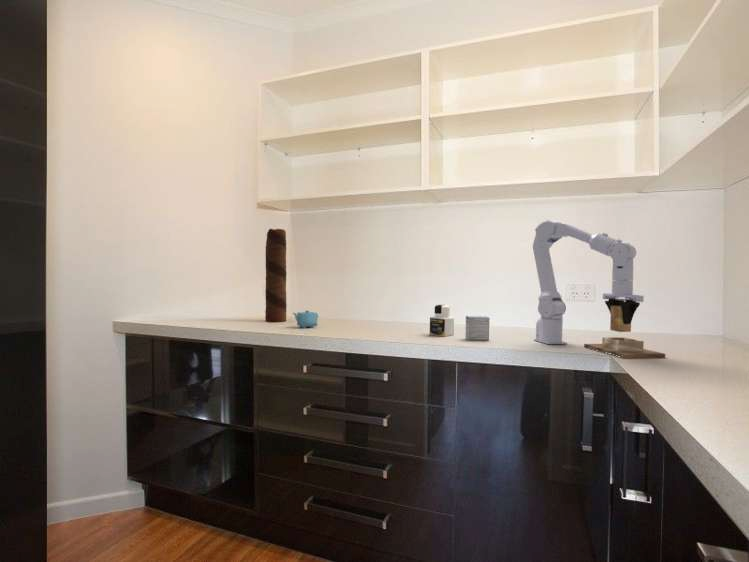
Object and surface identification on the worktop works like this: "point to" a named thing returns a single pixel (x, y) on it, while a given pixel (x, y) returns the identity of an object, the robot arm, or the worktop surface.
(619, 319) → the oak peg
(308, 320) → the teapot
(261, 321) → the worktop surface
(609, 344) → the walnut board
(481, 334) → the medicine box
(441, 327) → the medicine bottle
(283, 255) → the wafer roll
